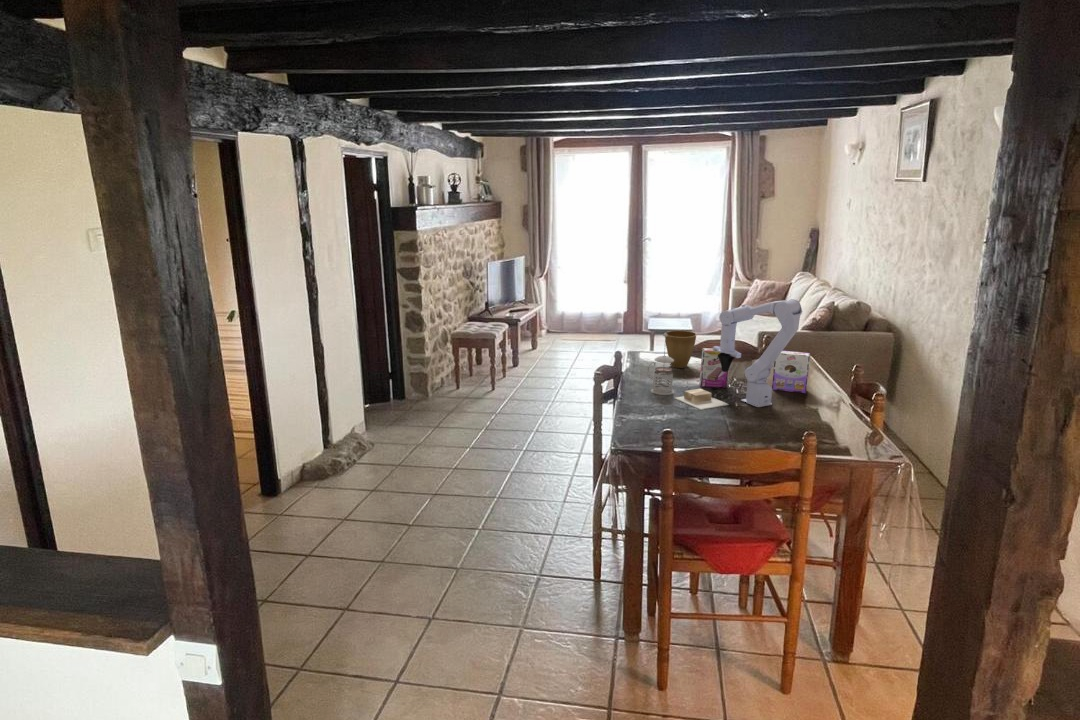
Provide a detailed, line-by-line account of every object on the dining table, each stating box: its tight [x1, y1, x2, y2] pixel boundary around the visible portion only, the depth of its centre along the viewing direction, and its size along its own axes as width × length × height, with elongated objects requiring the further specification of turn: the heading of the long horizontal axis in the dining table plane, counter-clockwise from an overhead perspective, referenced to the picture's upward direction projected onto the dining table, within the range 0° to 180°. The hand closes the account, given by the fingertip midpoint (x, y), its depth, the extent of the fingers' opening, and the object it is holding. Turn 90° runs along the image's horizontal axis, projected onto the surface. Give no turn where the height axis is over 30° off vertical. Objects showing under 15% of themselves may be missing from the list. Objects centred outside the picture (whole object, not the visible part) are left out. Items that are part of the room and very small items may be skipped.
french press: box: [646, 332, 675, 396], centre depth 280 cm, size 10×12×25 cm
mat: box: [674, 395, 729, 411], centre depth 269 cm, size 16×14×1 cm
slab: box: [683, 388, 712, 403], centre depth 271 cm, size 3×8×7 cm
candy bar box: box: [699, 347, 729, 388], centre depth 288 cm, size 11×5×16 cm, turn 84°
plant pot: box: [664, 330, 697, 369], centre depth 321 cm, size 15×15×16 cm
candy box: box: [771, 350, 811, 394], centre depth 284 cm, size 14×6×16 cm, turn 65°
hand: (725, 371), depth 277 cm, fingers closed
